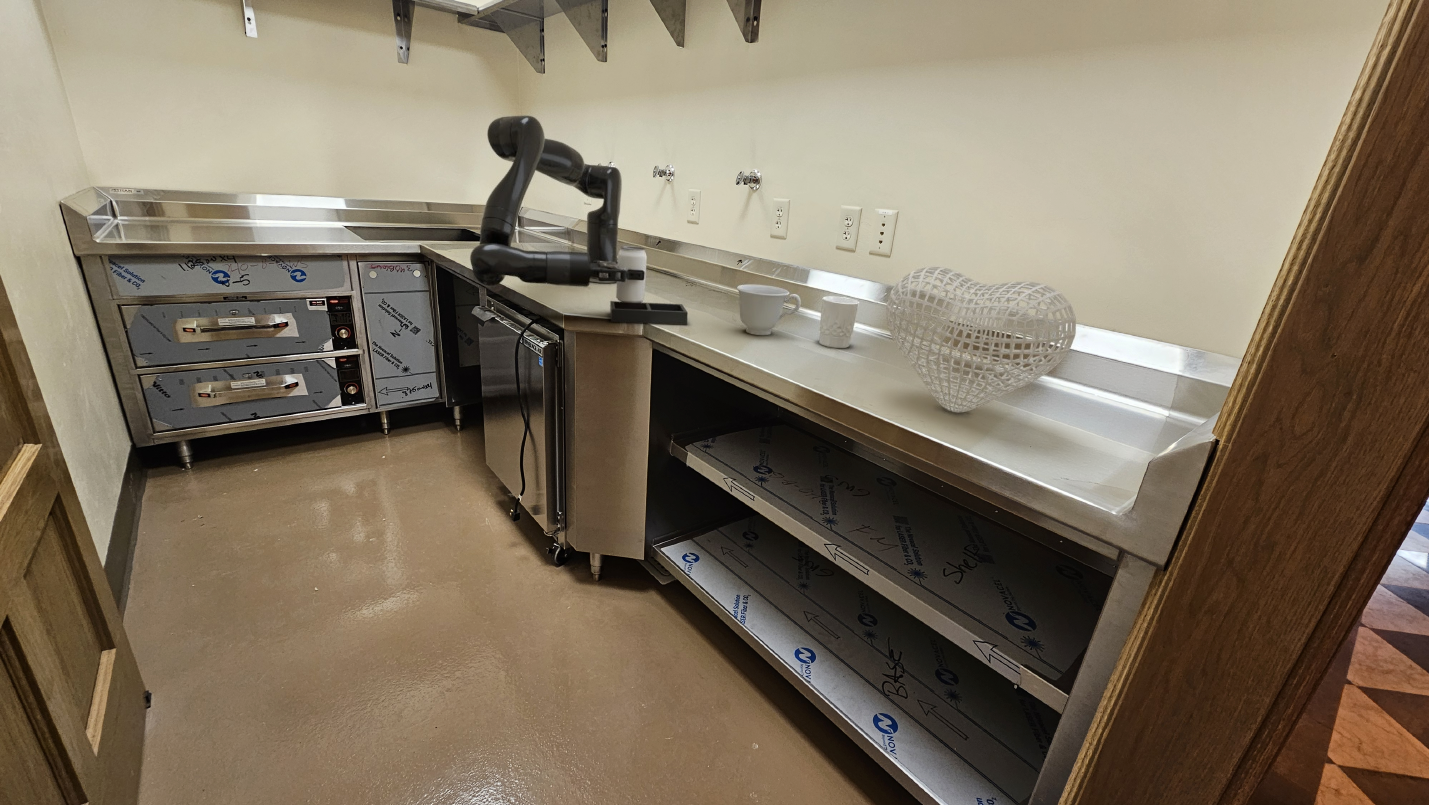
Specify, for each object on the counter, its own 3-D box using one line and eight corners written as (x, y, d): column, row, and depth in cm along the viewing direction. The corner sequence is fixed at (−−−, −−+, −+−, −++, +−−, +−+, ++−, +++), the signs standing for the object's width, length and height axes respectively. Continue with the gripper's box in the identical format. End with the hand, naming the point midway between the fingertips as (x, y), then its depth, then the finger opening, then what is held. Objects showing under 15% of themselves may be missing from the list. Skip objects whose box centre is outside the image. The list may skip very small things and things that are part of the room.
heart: (1058, 427, 96) (1100, 287, 88) (1026, 452, 85) (1071, 295, 78) (897, 380, 114) (920, 259, 106) (853, 395, 103) (876, 262, 95)
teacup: (790, 344, 133) (796, 298, 129) (725, 333, 137) (729, 289, 133) (801, 333, 144) (806, 290, 140) (740, 323, 148) (745, 282, 144)
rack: (610, 313, 146) (610, 300, 145) (681, 316, 150) (682, 304, 149) (611, 322, 138) (611, 309, 137) (686, 324, 142) (687, 312, 141)
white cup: (858, 346, 136) (865, 301, 133) (839, 351, 130) (846, 304, 127) (828, 338, 141) (835, 295, 137) (809, 342, 135) (815, 298, 132)
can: (612, 297, 143) (614, 245, 139) (639, 297, 146) (641, 246, 142) (620, 303, 138) (623, 249, 133) (647, 303, 140) (651, 250, 136)
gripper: (569, 256, 128) (648, 260, 132) (566, 247, 140) (637, 252, 145) (569, 291, 130) (646, 294, 135) (565, 280, 143) (636, 283, 148)
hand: (641, 272), depth 140 cm, fingers closed on can, 6 cm apart
